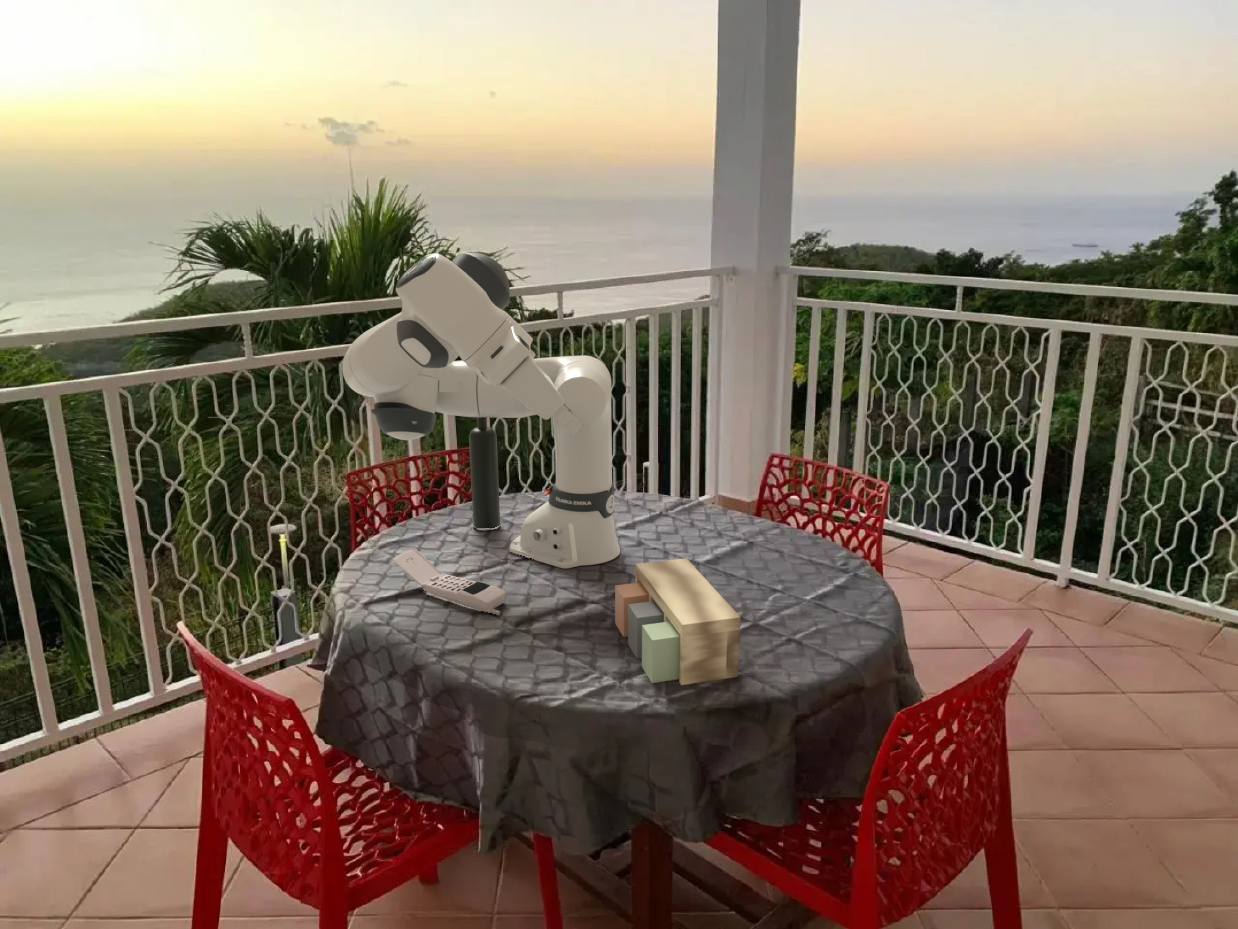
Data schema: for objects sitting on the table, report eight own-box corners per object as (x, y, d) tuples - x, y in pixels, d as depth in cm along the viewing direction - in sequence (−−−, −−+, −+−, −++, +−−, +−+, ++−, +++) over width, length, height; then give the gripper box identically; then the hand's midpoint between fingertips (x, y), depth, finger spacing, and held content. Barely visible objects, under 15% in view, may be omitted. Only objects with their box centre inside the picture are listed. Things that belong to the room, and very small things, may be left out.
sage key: (651, 683, 133) (652, 640, 131) (641, 666, 138) (642, 625, 136) (696, 676, 135) (697, 634, 133) (685, 660, 140) (686, 619, 138)
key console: (681, 686, 133) (682, 624, 130) (635, 618, 154) (635, 563, 151) (738, 678, 135) (740, 617, 132) (685, 611, 157) (686, 558, 154)
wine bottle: (505, 526, 197) (500, 391, 188) (485, 533, 193) (479, 395, 184) (488, 520, 201) (482, 387, 192) (468, 527, 197) (461, 391, 188)
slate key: (637, 659, 140) (637, 618, 138) (627, 644, 145) (627, 604, 143) (679, 653, 142) (680, 612, 140) (669, 638, 147) (670, 599, 145)
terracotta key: (623, 637, 147) (623, 597, 145) (615, 623, 152) (615, 585, 150) (664, 631, 149) (664, 592, 147) (655, 618, 154) (655, 580, 152)
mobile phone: (413, 547, 171) (516, 575, 157) (415, 576, 172) (517, 606, 159) (389, 558, 166) (493, 588, 153) (392, 587, 167) (495, 620, 154)
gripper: (484, 360, 133) (551, 424, 137) (486, 380, 113) (564, 454, 117) (514, 329, 132) (580, 395, 136) (522, 344, 113) (599, 420, 117)
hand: (573, 423), depth 126 cm, fingers open, 8 cm apart
